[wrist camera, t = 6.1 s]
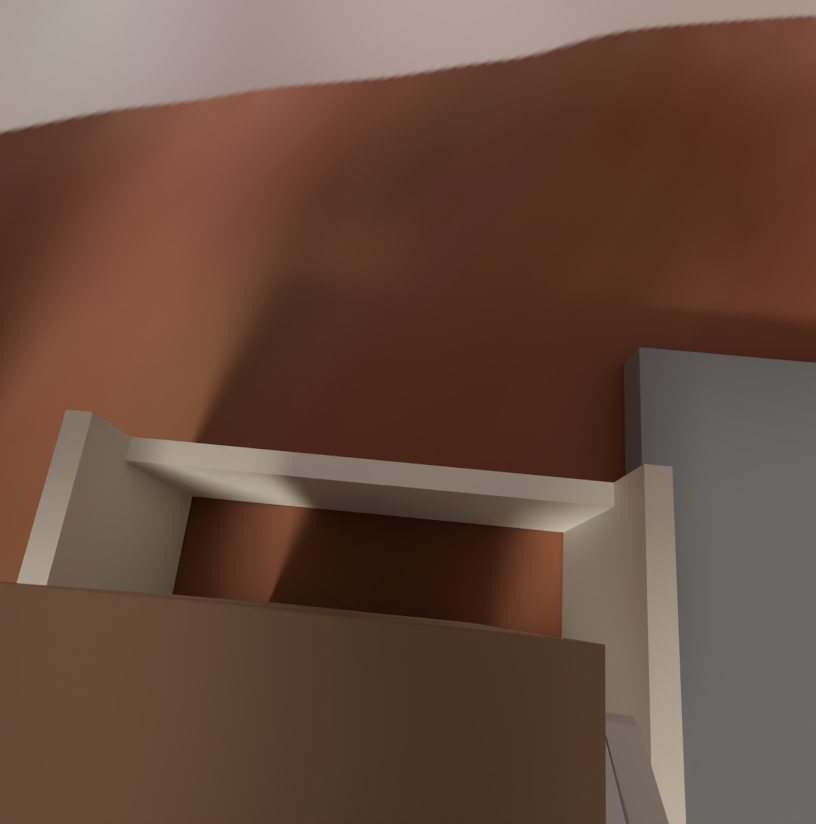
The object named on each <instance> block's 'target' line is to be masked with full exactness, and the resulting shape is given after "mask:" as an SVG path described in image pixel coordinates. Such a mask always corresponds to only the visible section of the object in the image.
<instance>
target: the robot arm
mask: <svg viewBox="0 0 816 824" xmlns="http://www.w3.org/2000/svg"><path fill="white" fill-rule="evenodd" d="M606 824H669V822H668V819H667V816H666V812H665V809H664V806H663V803H662V799H661V796H660V793H659V789H658V786H657V783H656V780H655V776H654V773H653V770H652V767H651V763H650V760H649V757H648V754H647V750H646V747H645V744H644V741H643V737H642V734H641V731H640V728H639V724H638V722H637V721H636V720H635V718H634V717H633V716H631V715H623V714H612V713H606Z"/></svg>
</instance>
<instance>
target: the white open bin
mask: <svg viewBox="0 0 816 824" xmlns="http://www.w3.org/2000/svg"><path fill="white" fill-rule="evenodd" d="M192 496H193V497H204V498H214V499H224V500H235V501H245V502H255V503H265V504H276V505H286V506H296V507H307V508H317V509H327V510H338V511H348V512H358V513H368V514H379V515H389V516H399V517H410V518H420V519H430V520H441V521H451V522H461V523H471V524H482V525H492V526H502V527H513V528H523V529H533V530H544V531H554V532H563V576H562V634H561V637H562V638H568V639H574V640H580V641H586V642H592V643H599V644H605V711H606V713H612V714H623V715H631V716H633V717H634V718H635V720H636V721H637V722H638V724H639V728H640V731H641V734H642V737H643V741H644V744H645V747H646V750H647V754H648V757H649V760H650V763H651V767H652V770H653V773H654V776H655V780H656V783H657V786H658V789H659V793H660V796H661V799H662V803H663V806H664V809H665V812H666V816H667V819H668V822H669V824H686V809H685V783H684V757H683V731H682V705H681V679H680V653H679V627H678V601H677V575H676V549H675V523H674V497H673V471H672V466H661V465H651V464H643V465H641V466H640V467H638V468H637V469H635V470H633V471H632V472H630V473H629V474H627V475H625V476H624V477H622V478H620V479H619V480H617V481H616V482H614V483H613V482H602V481H592V480H581V479H570V478H560V477H549V476H539V475H528V474H518V473H507V472H497V471H486V470H476V469H465V468H455V467H444V466H433V465H423V464H412V463H402V462H391V461H381V460H370V459H360V458H349V457H339V456H328V455H317V454H307V453H296V452H286V451H275V450H265V449H254V448H244V447H233V446H223V445H212V444H202V443H191V442H180V441H170V440H159V439H149V438H138V437H131V436H129V435H128V434H126V433H125V432H123V431H122V430H120V429H118V428H117V427H115V426H114V425H112V424H111V423H109V422H108V421H106V420H104V419H103V418H101V417H100V416H98V415H97V414H95V413H93V412H87V411H76V410H66V411H65V414H64V418H63V422H62V425H61V429H60V432H59V436H58V439H57V443H56V446H55V450H54V453H53V457H52V460H51V464H50V467H49V471H48V475H47V478H46V482H45V485H44V489H43V492H42V496H41V499H40V503H39V506H38V510H37V513H36V517H35V520H34V524H33V527H32V531H31V535H30V538H29V542H28V545H27V549H26V552H25V556H24V559H23V563H22V566H21V570H20V573H19V577H18V580H17V583H23V584H36V585H50V586H63V587H76V588H90V589H103V590H116V591H130V592H143V593H157V594H170V595H172V593H173V589H174V584H175V579H176V574H177V569H178V564H179V559H180V555H181V550H182V545H183V540H184V535H185V530H186V525H187V521H188V516H189V511H190V506H191V501H192Z"/></svg>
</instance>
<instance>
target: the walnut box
mask: <svg viewBox="0 0 816 824" xmlns="http://www.w3.org/2000/svg"><path fill="white" fill-rule="evenodd" d="M0 824H606V711H605V644H599V643H592V642H586V641H580V640H574V639H568V638H562V637H556V636H549V635H543V634H537V633H531V632H525V631H519V630H512V629H506V628H500V627H494V626H488V625H482V624H475V623H469V622H463V621H453V620H443V619H433V618H424V617H414V616H404V615H394V614H384V613H374V612H364V611H354V610H344V609H334V608H325V607H315V606H305V605H295V604H285V603H275V602H264V601H250V600H237V599H224V598H210V597H197V596H183V595H170V594H157V593H143V592H130V591H116V590H103V589H90V588H76V587H63V586H50V585H36V584H23V583H9V582H0Z"/></svg>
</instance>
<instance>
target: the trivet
mask: <svg viewBox="0 0 816 824" xmlns="http://www.w3.org/2000/svg"><path fill="white" fill-rule="evenodd" d="M624 421H625V475H627V474H629V473H630V472H632V471H633V470H635V469H637V468H638V467H640V466H641V465H643V464H651V465H661V466H672V471H673V497H674V523H675V549H676V575H677V601H678V627H679V653H680V679H681V705H682V731H683V757H684V783H685V809H686V824H816V363H812V362H801V361H789V360H778V359H767V358H756V357H745V356H733V355H722V354H711V353H700V352H689V351H677V350H666V349H655V348H644V347H639V348H638V349H637V350H636V351H635V353H634V354H633V355H632V356H631V357H630V358H629V359H628V360H627V362H626V363H625V364H624Z"/></svg>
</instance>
